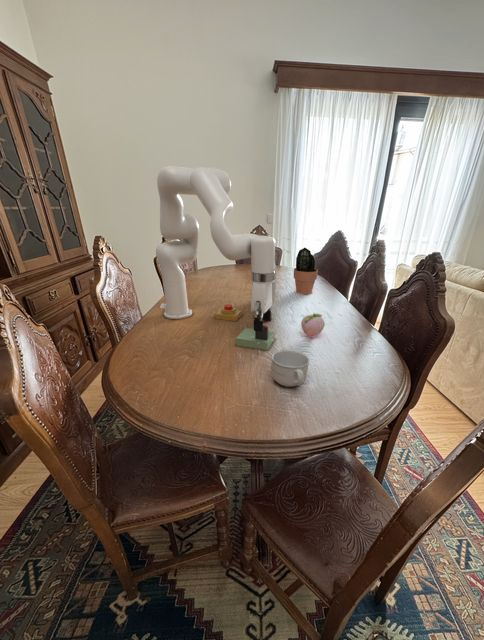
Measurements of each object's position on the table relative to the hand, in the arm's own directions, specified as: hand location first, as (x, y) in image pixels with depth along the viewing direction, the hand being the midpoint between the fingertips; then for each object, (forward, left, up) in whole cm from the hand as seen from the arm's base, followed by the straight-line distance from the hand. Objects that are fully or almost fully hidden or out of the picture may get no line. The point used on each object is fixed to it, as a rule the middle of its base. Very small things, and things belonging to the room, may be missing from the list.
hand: (262, 325), depth 101 cm
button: (-23, +24, -5) cm, 33 cm away
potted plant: (+3, +75, -9) cm, 75 cm away
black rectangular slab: (0, 0, -5) cm, 5 cm away
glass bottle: (-14, +53, -9) cm, 55 cm away
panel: (-3, +2, -8) cm, 9 cm away
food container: (-6, +26, -9) cm, 28 cm away
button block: (-23, +24, -8) cm, 34 cm away
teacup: (+15, -20, -9) cm, 27 cm away
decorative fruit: (+16, +15, -9) cm, 23 cm away
